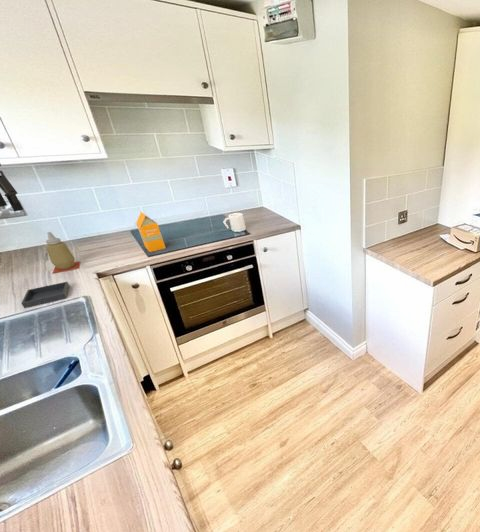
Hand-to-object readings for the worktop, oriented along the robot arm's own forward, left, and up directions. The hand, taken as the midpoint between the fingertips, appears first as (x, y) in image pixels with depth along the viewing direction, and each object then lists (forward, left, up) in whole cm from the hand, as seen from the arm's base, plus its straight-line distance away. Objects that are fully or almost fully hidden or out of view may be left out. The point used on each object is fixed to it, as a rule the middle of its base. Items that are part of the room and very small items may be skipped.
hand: (10, 208), depth 140 cm
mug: (+87, +7, -31) cm, 93 cm away
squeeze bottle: (+8, -2, -31) cm, 32 cm away
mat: (+8, -2, -31) cm, 32 cm away
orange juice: (+44, +2, -31) cm, 54 cm away
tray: (+5, -32, -31) cm, 45 cm away
